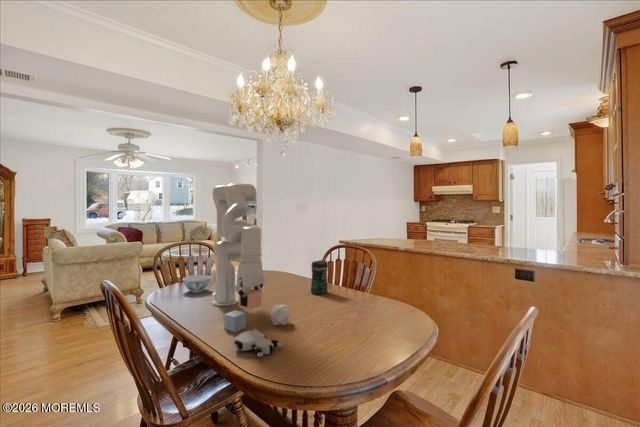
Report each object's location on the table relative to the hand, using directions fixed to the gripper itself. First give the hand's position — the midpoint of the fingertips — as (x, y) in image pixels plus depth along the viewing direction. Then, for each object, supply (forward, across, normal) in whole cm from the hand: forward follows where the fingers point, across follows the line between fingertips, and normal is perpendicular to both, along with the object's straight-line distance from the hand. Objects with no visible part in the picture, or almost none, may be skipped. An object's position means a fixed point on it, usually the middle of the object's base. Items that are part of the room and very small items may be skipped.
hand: (250, 303), depth 124 cm
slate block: (+12, +1, -8) cm, 14 cm away
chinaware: (+14, -24, -69) cm, 74 cm away
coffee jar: (+13, -62, -9) cm, 64 cm away
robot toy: (+11, +10, +13) cm, 20 cm away
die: (+12, -13, +4) cm, 18 cm away
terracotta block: (+1, 0, 0) cm, 1 cm away
